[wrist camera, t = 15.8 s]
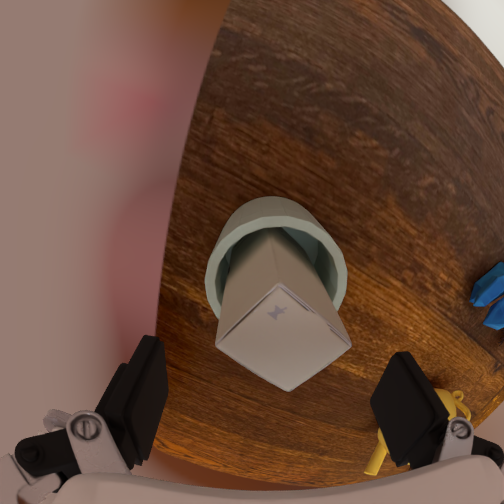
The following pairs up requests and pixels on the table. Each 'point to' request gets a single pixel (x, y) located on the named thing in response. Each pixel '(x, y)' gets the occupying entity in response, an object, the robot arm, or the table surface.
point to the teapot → (450, 405)
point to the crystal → (491, 296)
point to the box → (278, 311)
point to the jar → (297, 226)
